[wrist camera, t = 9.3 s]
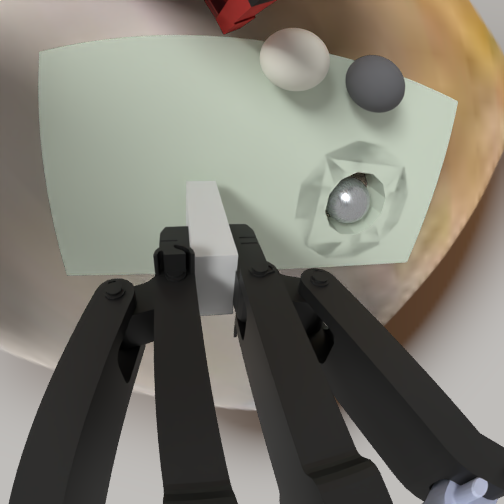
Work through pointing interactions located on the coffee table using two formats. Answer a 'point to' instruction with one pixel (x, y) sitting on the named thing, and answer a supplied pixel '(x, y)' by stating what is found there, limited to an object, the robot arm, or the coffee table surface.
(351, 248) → the board
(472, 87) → the coffee table surface
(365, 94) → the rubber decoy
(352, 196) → the steel ball
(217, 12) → the mug
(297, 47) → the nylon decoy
